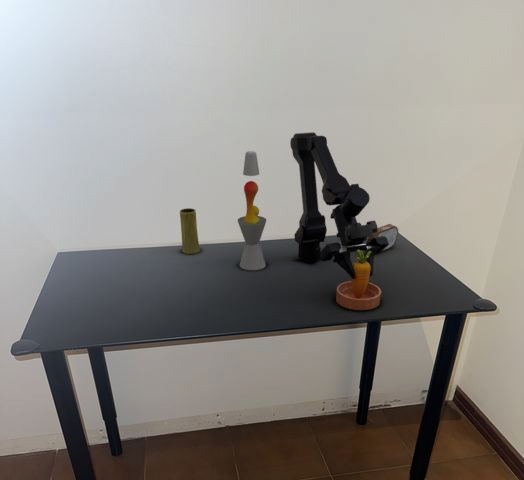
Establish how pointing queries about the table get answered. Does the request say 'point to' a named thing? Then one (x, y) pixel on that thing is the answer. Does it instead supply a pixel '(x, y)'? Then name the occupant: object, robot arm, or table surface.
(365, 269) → the carrot
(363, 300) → the bowl
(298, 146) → the robot arm
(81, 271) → the table surface
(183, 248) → the vase
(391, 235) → the tin
